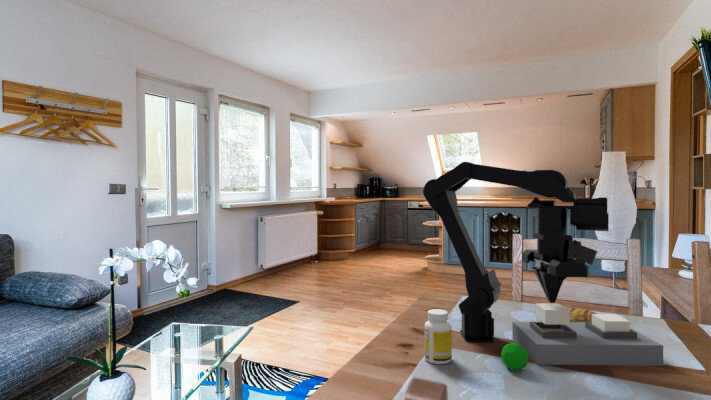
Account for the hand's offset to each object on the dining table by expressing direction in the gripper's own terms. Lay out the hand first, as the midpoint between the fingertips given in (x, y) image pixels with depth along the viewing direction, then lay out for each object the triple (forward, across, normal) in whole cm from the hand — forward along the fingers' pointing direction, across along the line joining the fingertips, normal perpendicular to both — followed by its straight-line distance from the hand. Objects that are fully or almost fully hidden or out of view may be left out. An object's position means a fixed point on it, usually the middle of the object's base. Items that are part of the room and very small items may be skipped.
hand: (551, 302), depth 85 cm
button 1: (+4, 0, 0) cm, 4 cm away
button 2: (+6, 0, -12) cm, 14 cm away
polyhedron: (+11, -9, +11) cm, 18 cm away
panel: (+10, 0, -6) cm, 12 cm away
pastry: (+11, +19, -17) cm, 28 cm away
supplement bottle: (+11, -5, +25) cm, 28 cm away
